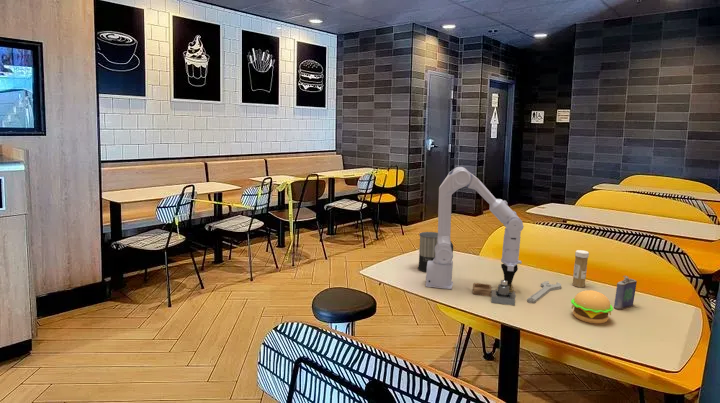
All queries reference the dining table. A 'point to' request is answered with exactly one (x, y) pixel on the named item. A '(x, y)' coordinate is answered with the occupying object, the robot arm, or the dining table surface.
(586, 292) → the hamburger
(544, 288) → the adjustable wrench
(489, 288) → the brown square tray
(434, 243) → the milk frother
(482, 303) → the dining table surface
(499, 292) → the grey knob
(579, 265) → the sprinkles bottle
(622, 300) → the flask
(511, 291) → the bar
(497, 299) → the socket block
